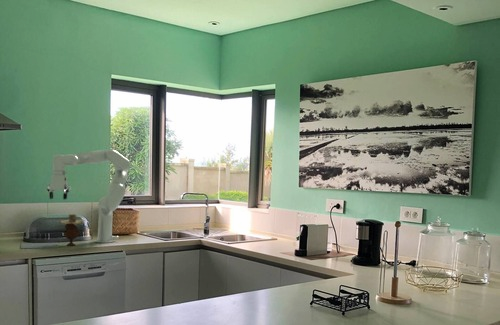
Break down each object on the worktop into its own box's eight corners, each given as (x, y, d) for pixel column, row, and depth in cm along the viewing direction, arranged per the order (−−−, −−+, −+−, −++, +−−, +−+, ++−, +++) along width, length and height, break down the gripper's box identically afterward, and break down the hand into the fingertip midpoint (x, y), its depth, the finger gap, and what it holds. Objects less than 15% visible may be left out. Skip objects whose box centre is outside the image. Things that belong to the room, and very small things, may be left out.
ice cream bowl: (76, 247, 324) (77, 224, 324) (59, 246, 324) (60, 223, 324) (82, 244, 334) (83, 222, 334) (65, 243, 334) (66, 221, 334)
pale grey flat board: (57, 243, 334) (57, 242, 334) (58, 247, 318) (58, 247, 318) (21, 244, 326) (21, 243, 326) (20, 248, 309) (20, 247, 309)
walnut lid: (82, 221, 338) (82, 213, 338) (84, 223, 325) (84, 215, 325) (60, 221, 333) (60, 213, 333) (61, 224, 320) (61, 215, 320)
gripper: (73, 173, 333) (73, 199, 334) (49, 172, 336) (49, 198, 336) (68, 173, 326) (67, 199, 326) (43, 173, 329) (43, 198, 329)
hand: (58, 199), depth 331 cm, fingers open, 9 cm apart
